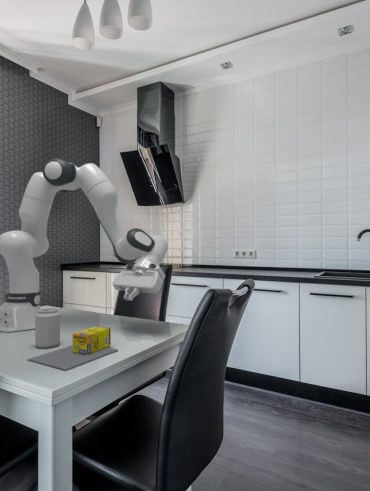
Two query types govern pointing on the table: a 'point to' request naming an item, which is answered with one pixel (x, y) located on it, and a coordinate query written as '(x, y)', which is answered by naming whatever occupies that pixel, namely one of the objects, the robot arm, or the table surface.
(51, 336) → the can
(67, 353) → the rubber mat
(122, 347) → the table surface
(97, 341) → the supplement box
